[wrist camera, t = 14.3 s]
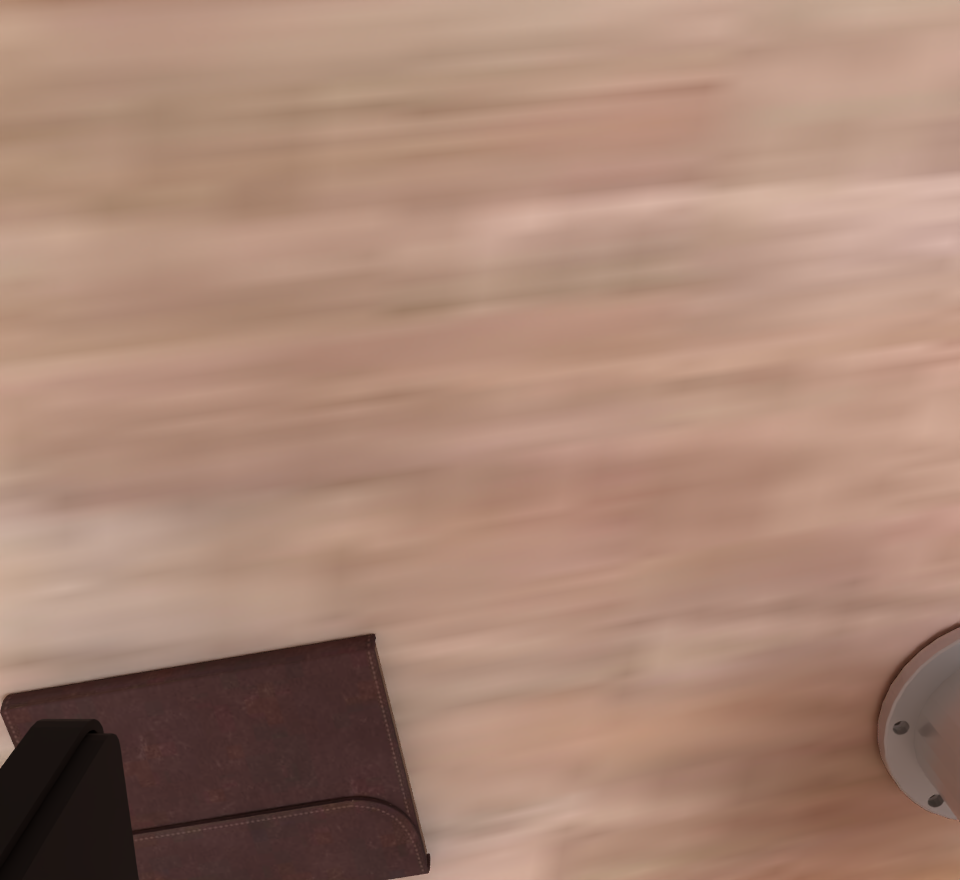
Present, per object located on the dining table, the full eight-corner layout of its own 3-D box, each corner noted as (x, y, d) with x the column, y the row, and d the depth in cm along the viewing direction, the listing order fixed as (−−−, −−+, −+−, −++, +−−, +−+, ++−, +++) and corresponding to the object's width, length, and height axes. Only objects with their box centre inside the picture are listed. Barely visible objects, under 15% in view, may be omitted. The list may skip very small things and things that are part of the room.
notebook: (12, 688, 47) (-7, 711, 45) (375, 628, 46) (371, 648, 44) (100, 903, 51) (87, 932, 49) (430, 852, 51) (429, 879, 49)
